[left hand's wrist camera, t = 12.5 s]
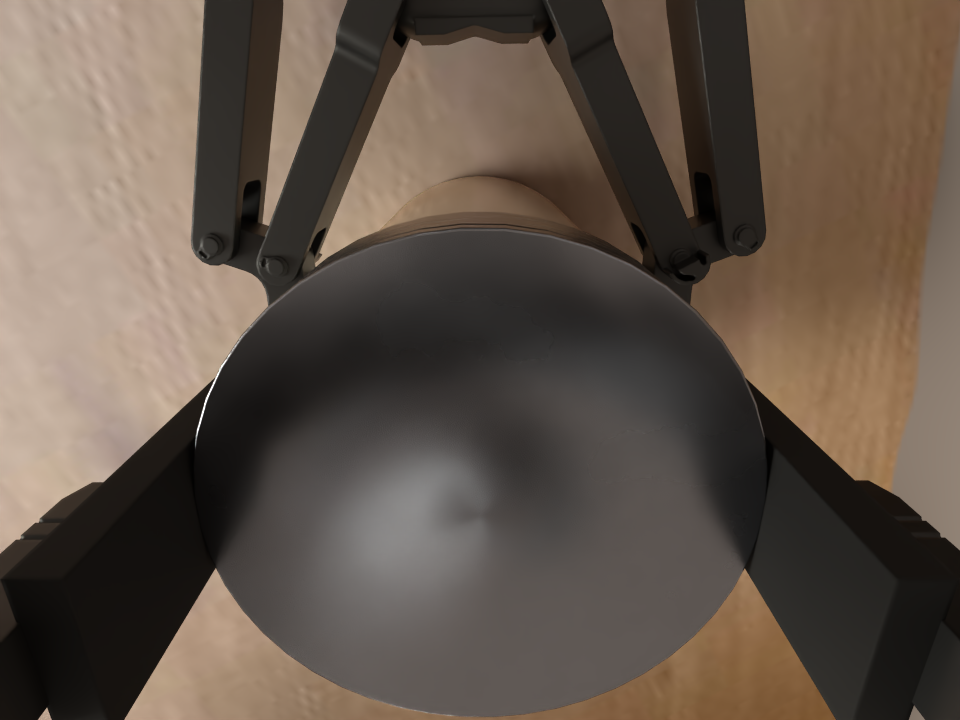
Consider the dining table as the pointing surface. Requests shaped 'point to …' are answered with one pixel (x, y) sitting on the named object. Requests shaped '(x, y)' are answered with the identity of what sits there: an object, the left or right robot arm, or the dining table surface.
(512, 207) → the jar
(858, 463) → the dining table surface
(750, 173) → the right robot arm
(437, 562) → the lid
